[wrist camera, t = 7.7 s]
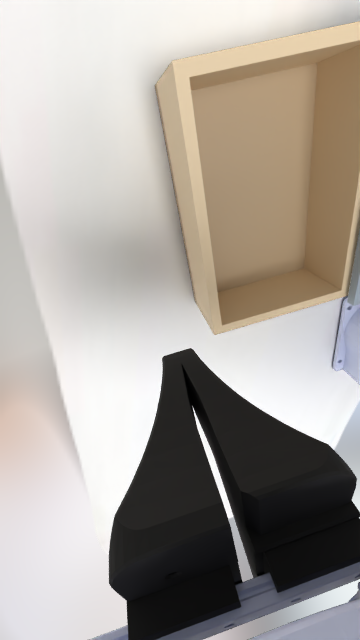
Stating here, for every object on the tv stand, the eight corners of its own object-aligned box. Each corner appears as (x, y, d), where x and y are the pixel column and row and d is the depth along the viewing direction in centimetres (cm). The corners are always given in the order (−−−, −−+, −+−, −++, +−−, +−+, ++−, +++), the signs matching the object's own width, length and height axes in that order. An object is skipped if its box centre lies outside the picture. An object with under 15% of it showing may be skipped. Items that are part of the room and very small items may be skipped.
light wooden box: (305, 270, 24) (347, 295, 19) (195, 301, 23) (214, 335, 19) (321, 49, 16) (396, 13, 12) (154, 85, 15) (172, 60, 11)
